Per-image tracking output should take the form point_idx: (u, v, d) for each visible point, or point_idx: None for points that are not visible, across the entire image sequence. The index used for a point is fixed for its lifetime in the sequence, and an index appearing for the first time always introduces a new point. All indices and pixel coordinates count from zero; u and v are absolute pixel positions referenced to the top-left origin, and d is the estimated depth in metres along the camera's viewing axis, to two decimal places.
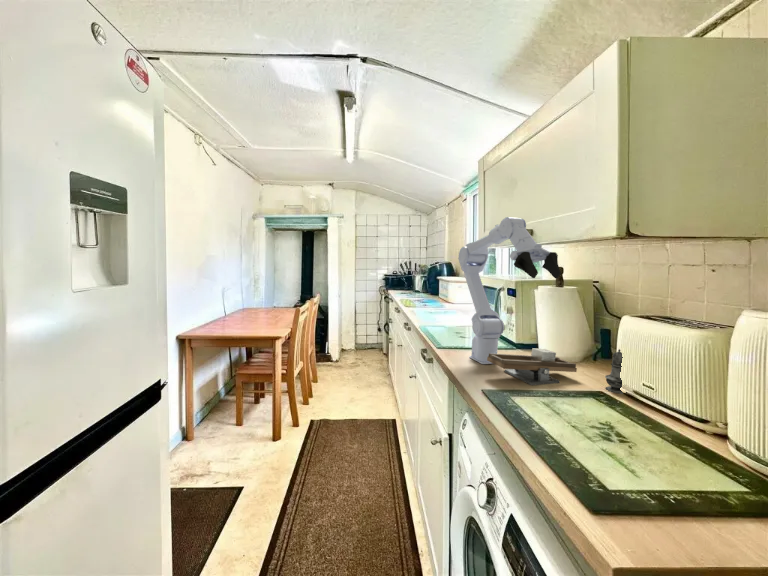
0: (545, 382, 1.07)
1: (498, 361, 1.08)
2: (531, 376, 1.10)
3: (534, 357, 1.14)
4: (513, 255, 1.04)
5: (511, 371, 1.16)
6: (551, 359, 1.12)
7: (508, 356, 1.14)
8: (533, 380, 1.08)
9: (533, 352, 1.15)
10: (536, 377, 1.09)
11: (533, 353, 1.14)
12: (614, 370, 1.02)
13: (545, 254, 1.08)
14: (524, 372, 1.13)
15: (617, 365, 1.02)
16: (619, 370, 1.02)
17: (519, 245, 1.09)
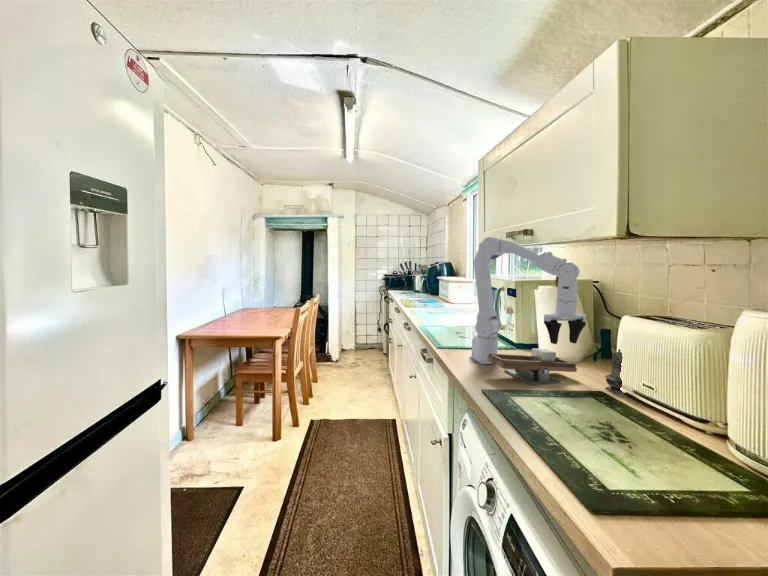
0: (545, 382, 1.07)
1: (498, 361, 1.08)
2: (531, 376, 1.10)
3: (534, 357, 1.14)
4: (547, 319, 1.13)
5: (511, 371, 1.16)
6: (551, 359, 1.12)
7: (508, 356, 1.14)
8: (533, 380, 1.08)
9: (533, 352, 1.15)
10: (536, 377, 1.09)
11: (533, 353, 1.14)
12: (614, 370, 1.02)
13: (577, 317, 1.15)
14: (524, 372, 1.13)
15: (617, 365, 1.02)
16: (619, 370, 1.02)
17: (559, 304, 1.13)
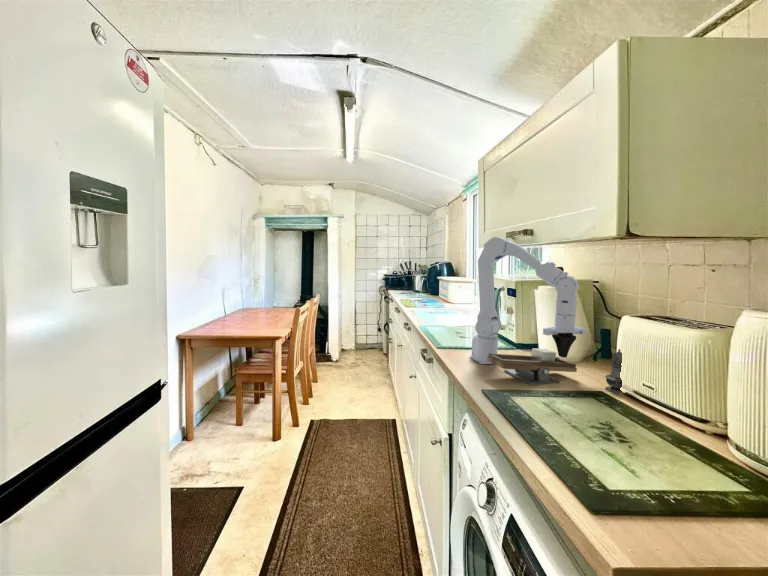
0: (545, 382, 1.07)
1: (498, 361, 1.08)
2: (531, 376, 1.10)
3: (534, 357, 1.14)
4: (546, 333, 1.13)
5: (511, 371, 1.16)
6: (551, 359, 1.12)
7: (508, 356, 1.14)
8: (533, 380, 1.08)
9: (533, 352, 1.15)
10: (536, 377, 1.09)
11: (533, 353, 1.14)
12: (614, 370, 1.02)
13: (576, 331, 1.16)
14: (524, 372, 1.13)
15: (617, 365, 1.02)
16: (619, 370, 1.02)
17: (558, 318, 1.14)
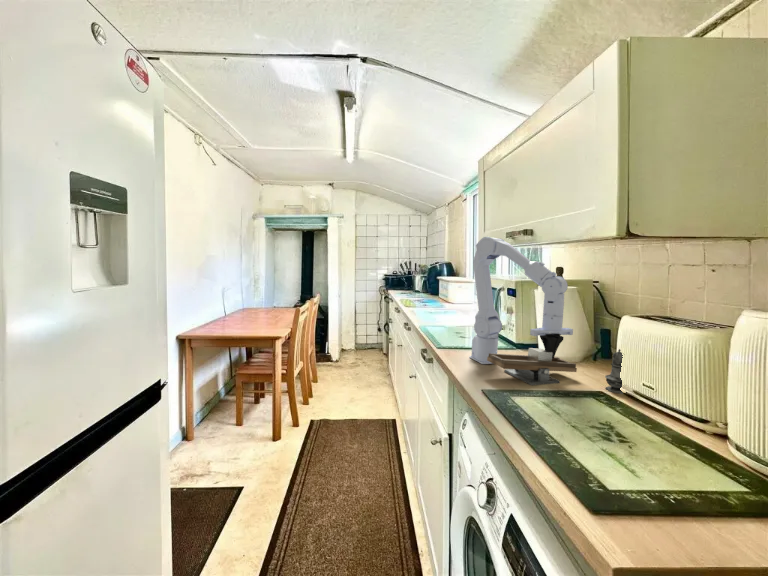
0: (545, 382, 1.07)
1: (498, 361, 1.08)
2: (531, 376, 1.10)
3: (530, 357, 1.14)
4: (533, 334, 1.12)
5: (511, 371, 1.16)
6: (548, 359, 1.12)
7: (508, 356, 1.14)
8: (533, 380, 1.08)
9: (530, 352, 1.14)
10: (536, 377, 1.09)
11: (530, 353, 1.14)
12: (614, 370, 1.02)
13: None
14: (524, 372, 1.13)
15: (617, 365, 1.02)
16: (620, 370, 1.02)
17: (546, 318, 1.13)
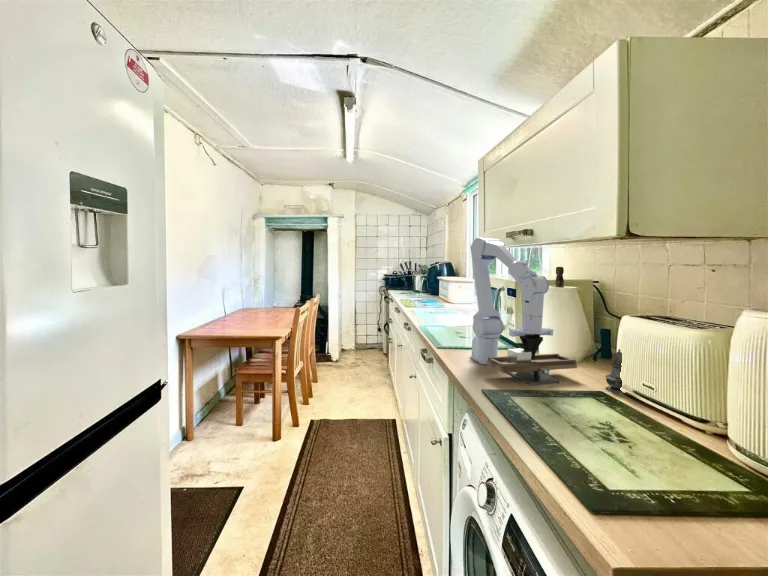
0: (545, 382, 1.07)
1: (497, 365, 1.08)
2: (531, 376, 1.10)
3: (510, 358, 1.12)
4: (512, 334, 1.10)
5: None
6: (527, 359, 1.10)
7: None
8: (533, 380, 1.08)
9: (509, 353, 1.12)
10: (536, 377, 1.09)
11: (509, 354, 1.12)
12: (614, 370, 1.02)
13: None
14: (524, 372, 1.13)
15: (617, 365, 1.02)
16: (619, 370, 1.02)
17: (525, 319, 1.10)
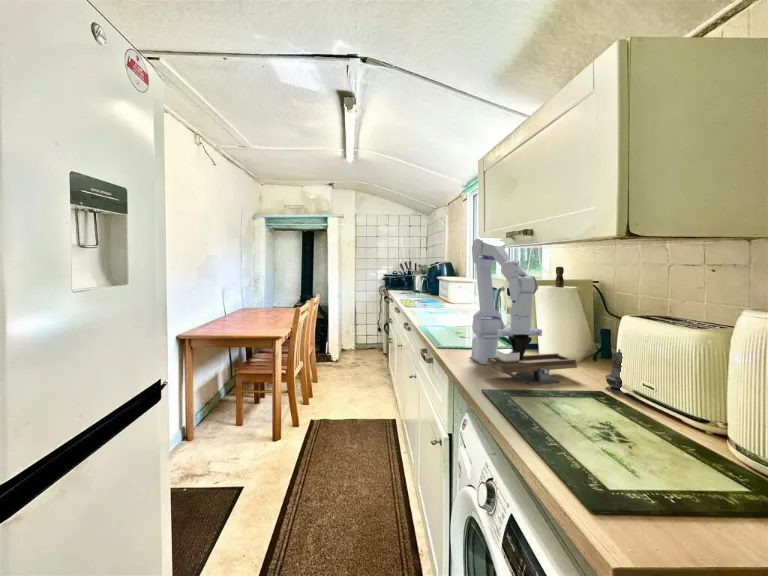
0: (545, 382, 1.07)
1: (497, 365, 1.08)
2: (531, 376, 1.10)
3: (498, 359, 1.11)
4: (500, 335, 1.08)
5: None
6: (515, 360, 1.08)
7: None
8: (533, 380, 1.08)
9: (497, 354, 1.11)
10: (536, 377, 1.09)
11: (497, 354, 1.11)
12: (614, 370, 1.02)
13: (532, 332, 1.11)
14: (524, 372, 1.13)
15: (617, 365, 1.02)
16: (620, 370, 1.02)
17: (513, 319, 1.09)
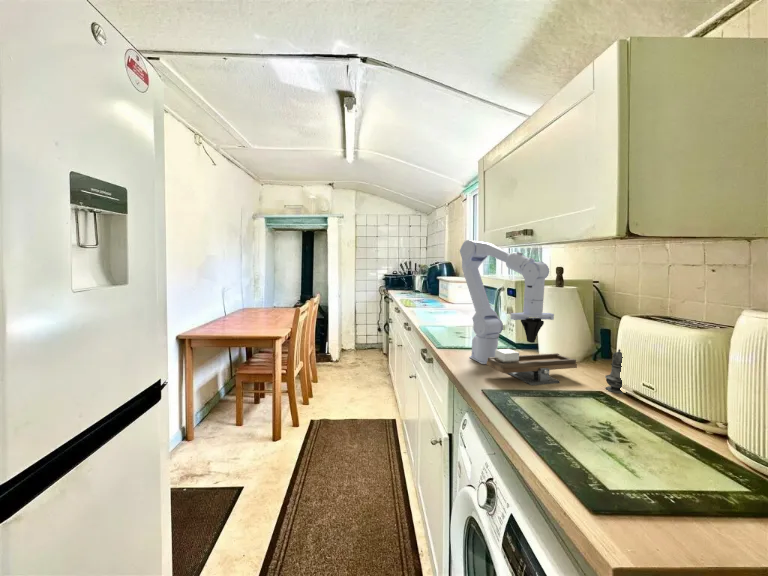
0: (545, 382, 1.07)
1: (497, 365, 1.08)
2: (531, 376, 1.10)
3: (497, 359, 1.11)
4: (513, 318, 1.13)
5: None
6: (515, 360, 1.08)
7: None
8: (533, 380, 1.08)
9: (496, 354, 1.11)
10: (536, 377, 1.09)
11: (497, 354, 1.11)
12: (614, 370, 1.02)
13: None
14: (524, 372, 1.13)
15: (617, 365, 1.02)
16: (619, 370, 1.02)
17: (526, 303, 1.14)
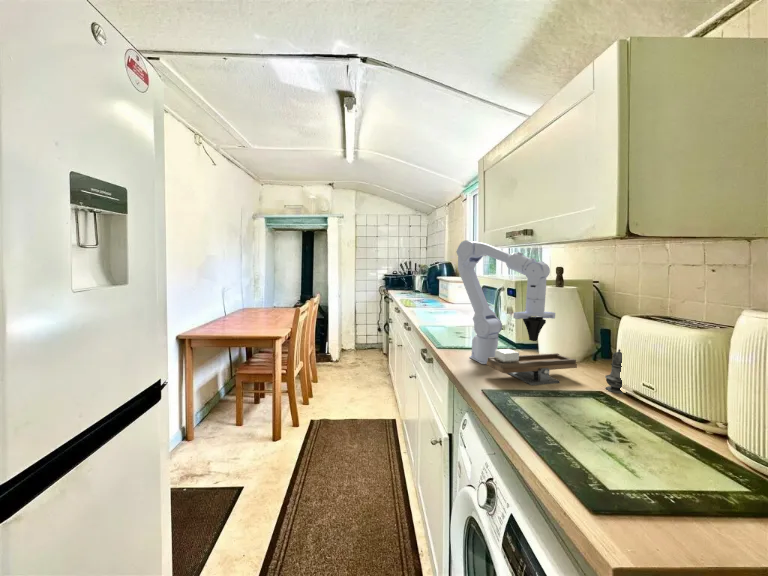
0: (545, 382, 1.07)
1: (497, 365, 1.08)
2: (531, 376, 1.10)
3: (497, 359, 1.11)
4: (516, 317, 1.15)
5: None
6: (515, 360, 1.08)
7: None
8: (533, 380, 1.08)
9: (496, 354, 1.11)
10: (536, 377, 1.09)
11: (497, 354, 1.11)
12: (614, 370, 1.02)
13: None
14: (524, 372, 1.13)
15: (617, 365, 1.02)
16: (619, 370, 1.02)
17: (529, 302, 1.16)
